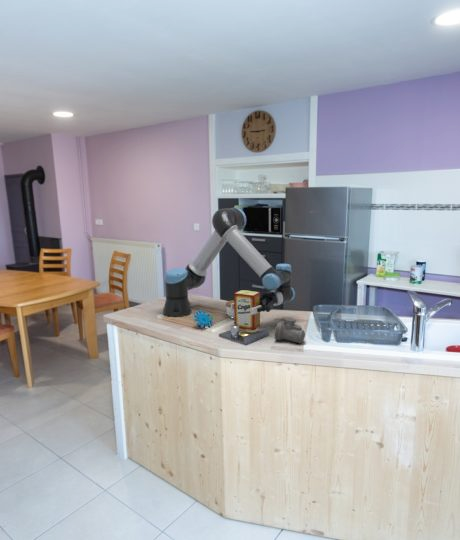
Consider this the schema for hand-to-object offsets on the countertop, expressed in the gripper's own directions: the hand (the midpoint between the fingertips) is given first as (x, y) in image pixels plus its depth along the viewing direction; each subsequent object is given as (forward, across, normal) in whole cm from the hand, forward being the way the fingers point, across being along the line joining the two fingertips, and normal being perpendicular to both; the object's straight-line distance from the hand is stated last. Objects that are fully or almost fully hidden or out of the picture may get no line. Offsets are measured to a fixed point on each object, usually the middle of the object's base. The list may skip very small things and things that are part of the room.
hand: (241, 309), depth 169 cm
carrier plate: (-2, 0, -13) cm, 13 cm away
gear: (+1, +23, -13) cm, 26 cm away
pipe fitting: (-10, -19, -13) cm, 25 cm away
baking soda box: (-4, 0, -9) cm, 10 cm away
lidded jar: (-20, +21, -13) cm, 32 cm away
